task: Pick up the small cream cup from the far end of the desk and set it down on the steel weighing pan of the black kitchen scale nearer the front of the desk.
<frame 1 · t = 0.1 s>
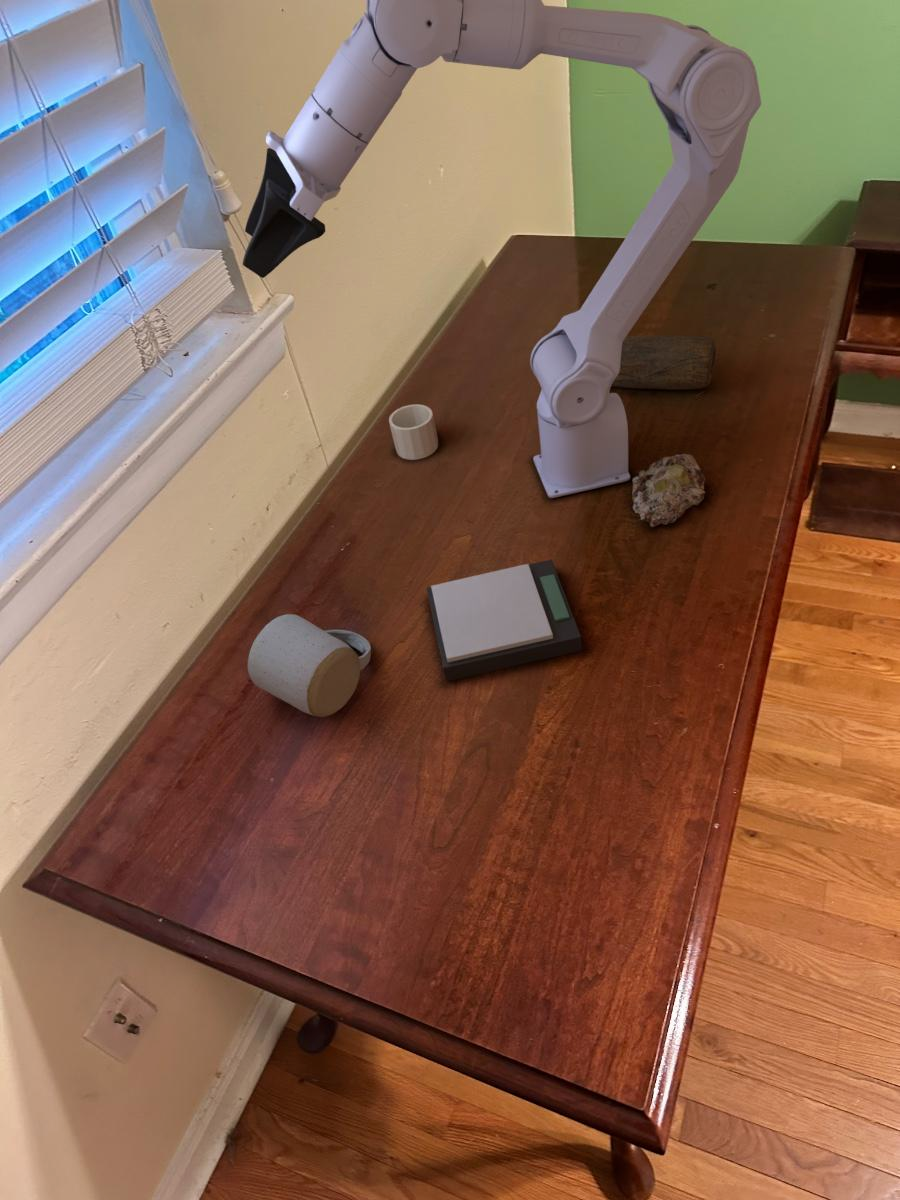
hand: (253, 253, 76), 32 cm above the table, tool tilted 50°, fingers open, 7 cm apart
wooden log: (651, 385, 109), on the table
mineral rock: (665, 499, 93), on the table
ceramic mug: (325, 682, 82), on the table
cream cup: (417, 447, 107), on the table
scale: (502, 624, 83), on the table
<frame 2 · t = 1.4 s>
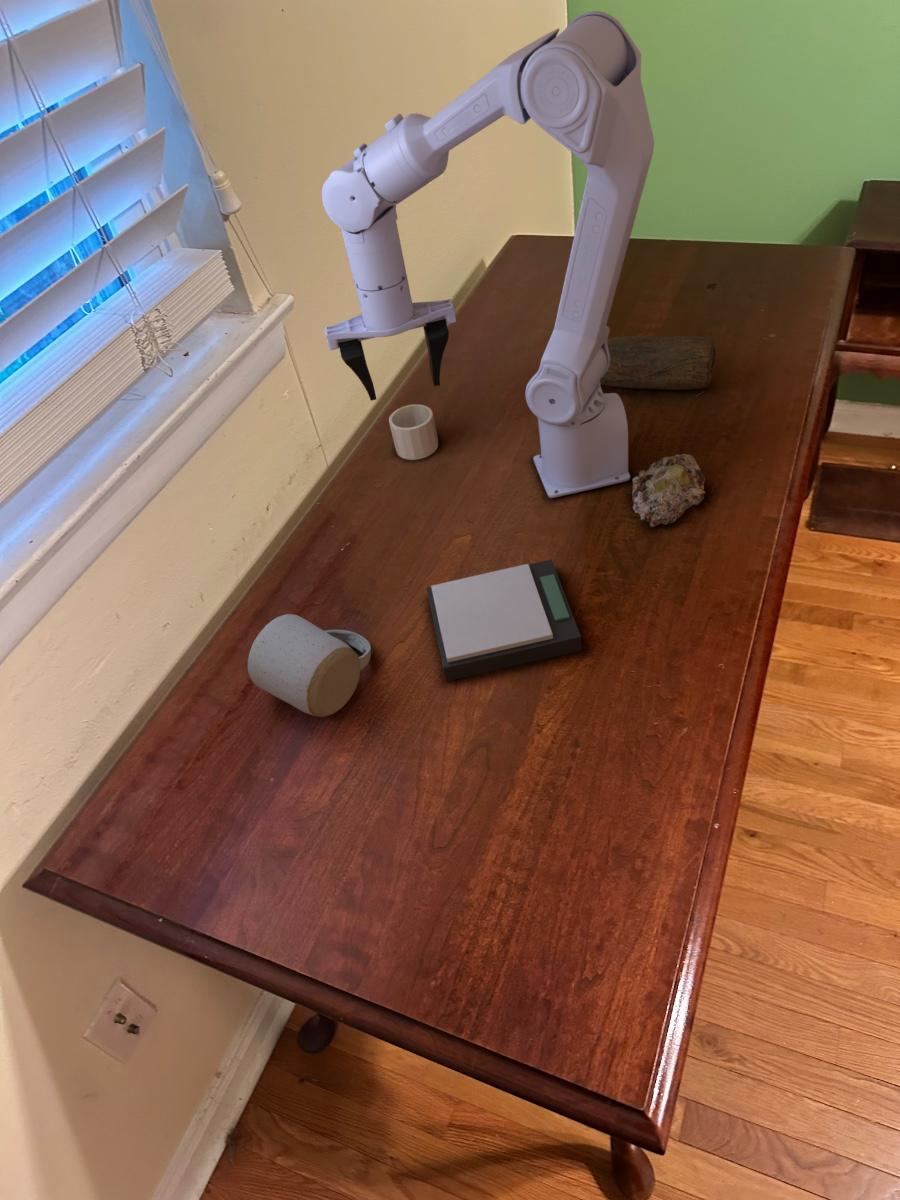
hand: (404, 388, 101), 8 cm above the table, tool pointing down, fingers open, 7 cm apart
nothing on the table moved.
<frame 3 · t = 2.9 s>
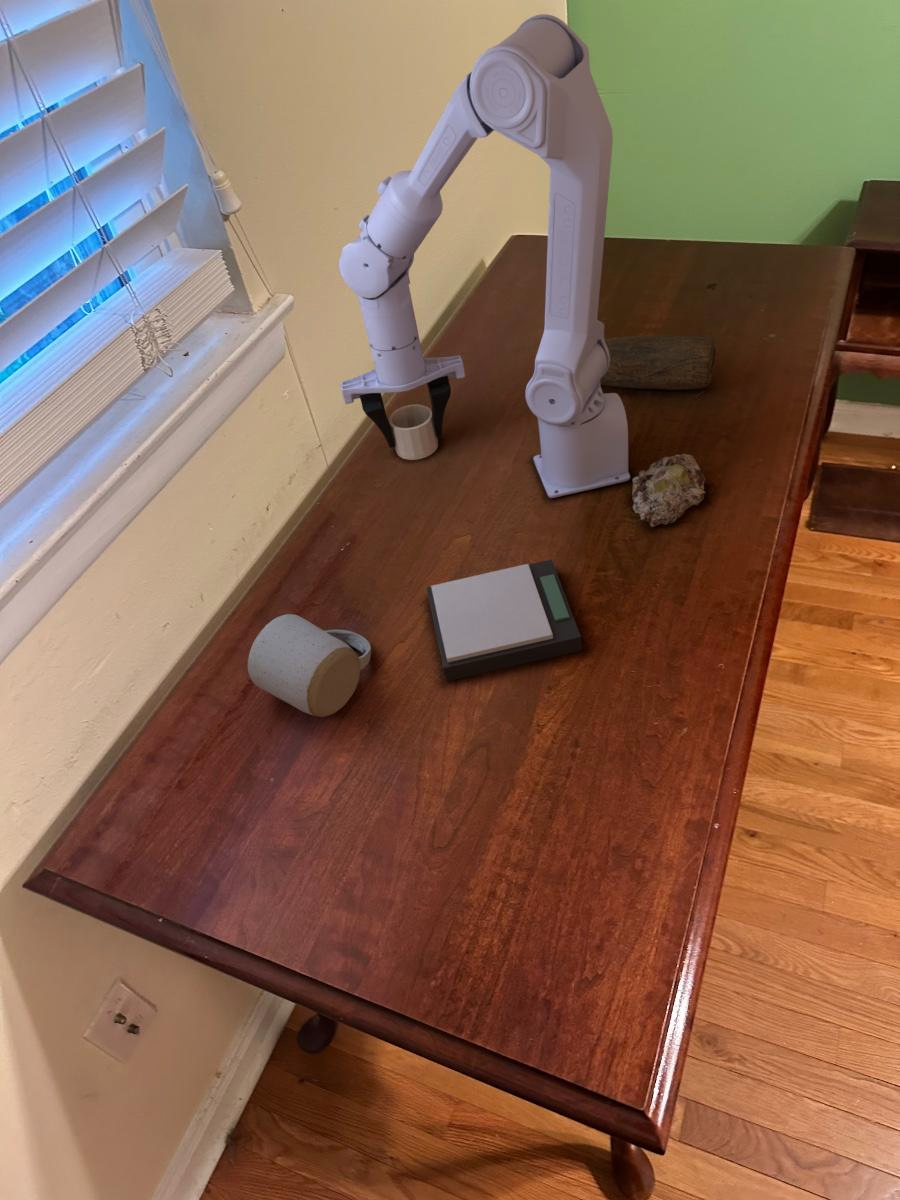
hand: (415, 437, 106), 1 cm above the table, tool pointing down, fingers closed on cream cup, 5 cm apart
cream cup: (417, 447, 107), on the table, touching gripper
everything else where it was.
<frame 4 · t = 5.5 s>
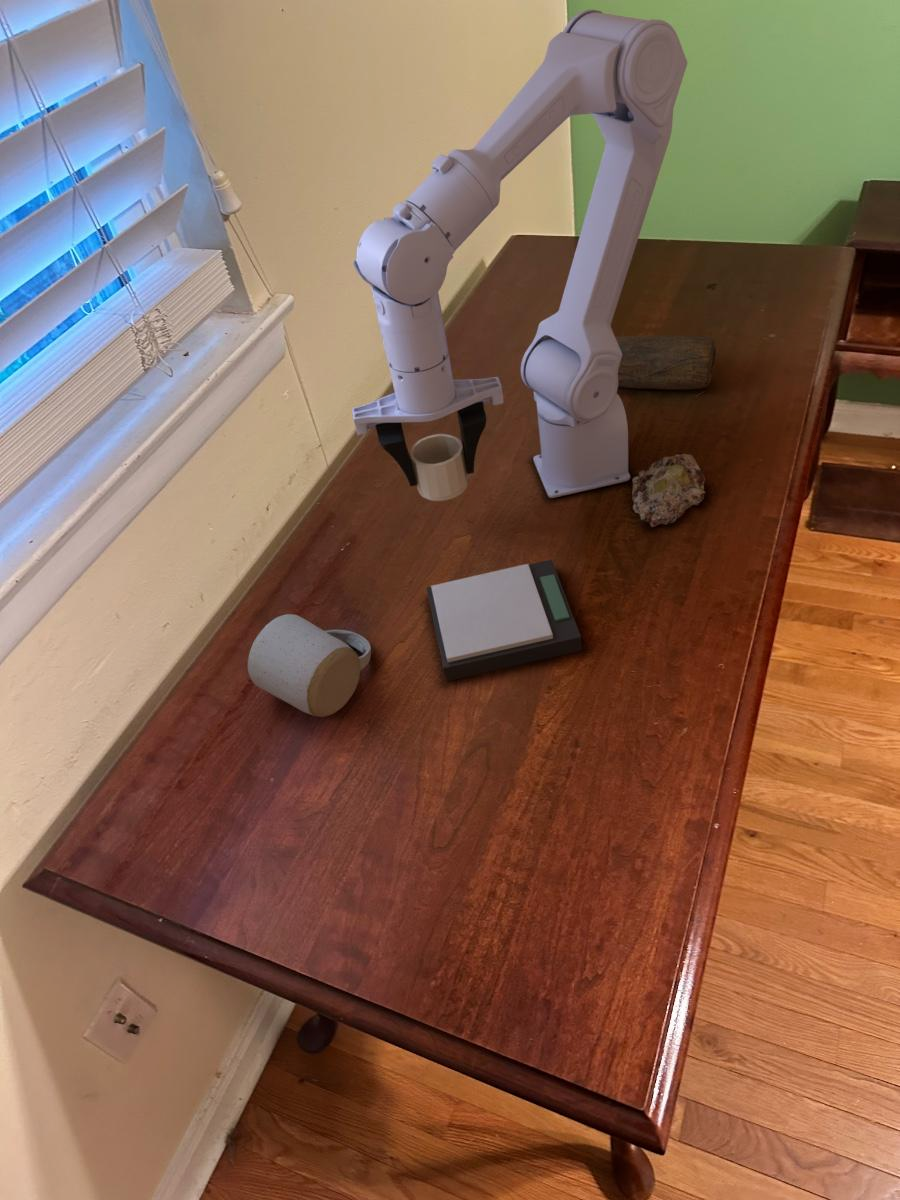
hand: (441, 474, 88), 8 cm above the table, tool pointing down, fingers closed on cream cup, 5 cm apart
cream cup: (443, 484, 89), point 7 cm above the table, touching gripper
everything else where it was.
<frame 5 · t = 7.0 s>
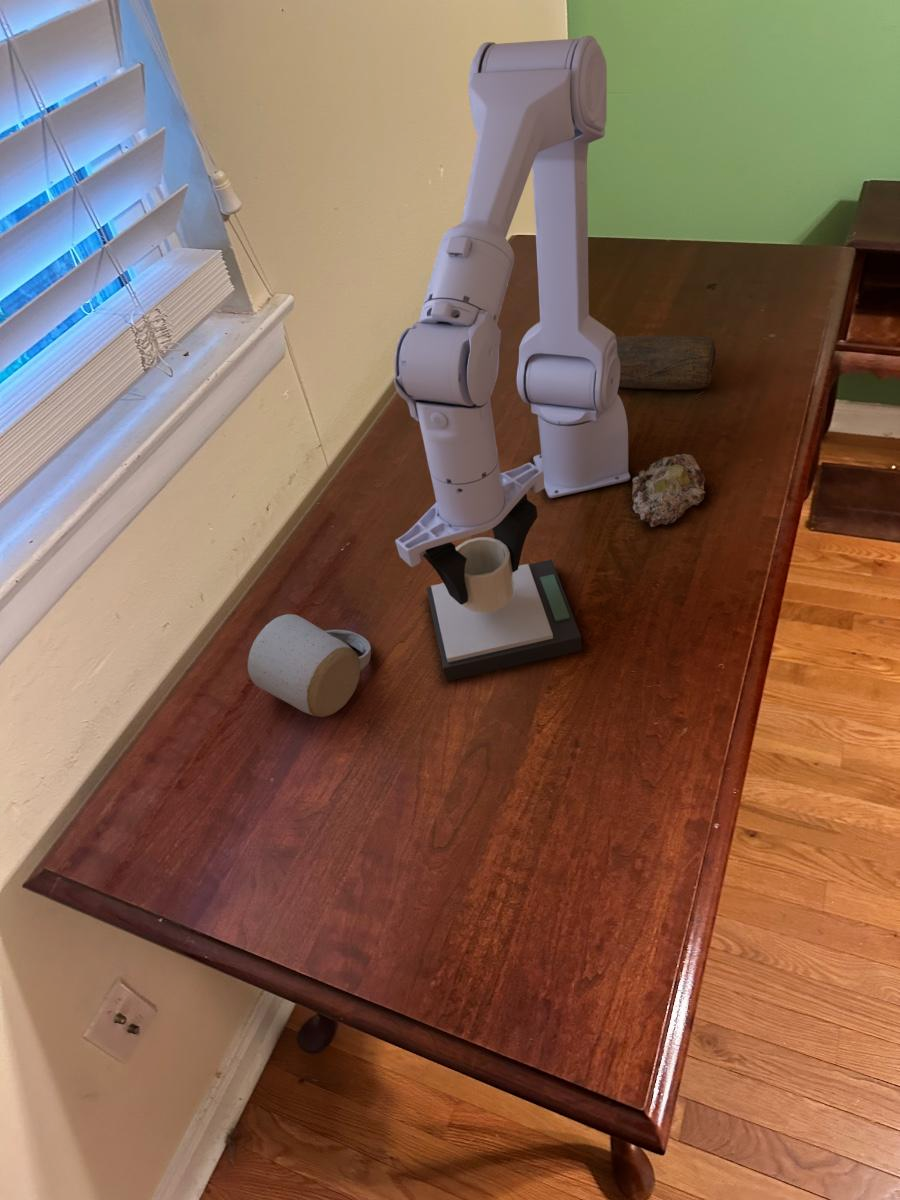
hand: (484, 581, 79), 6 cm above the table, tool pointing down, fingers closed on cream cup, 5 cm apart
cream cup: (485, 592, 80), point 5 cm above the table, touching gripper
everything else where it was.
when the fingers open (4 cm above the table, at t = 8.3 s): cream cup stays where it is, resting on scale.
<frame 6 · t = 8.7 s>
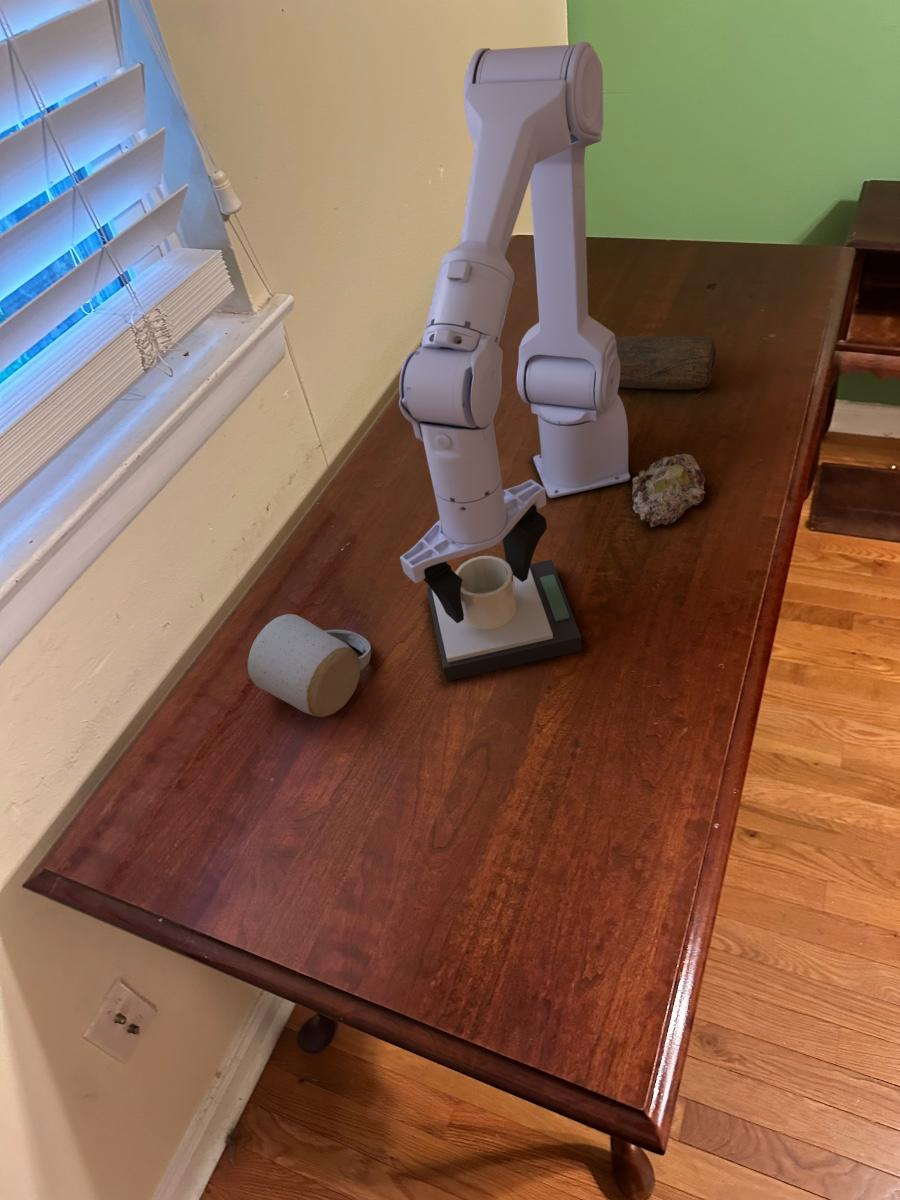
hand: (486, 595, 80), 4 cm above the table, tool pointing down, fingers open, 7 cm apart
cream cup: (488, 609, 82), point 3 cm above the table, touching scale
everything else where it was.
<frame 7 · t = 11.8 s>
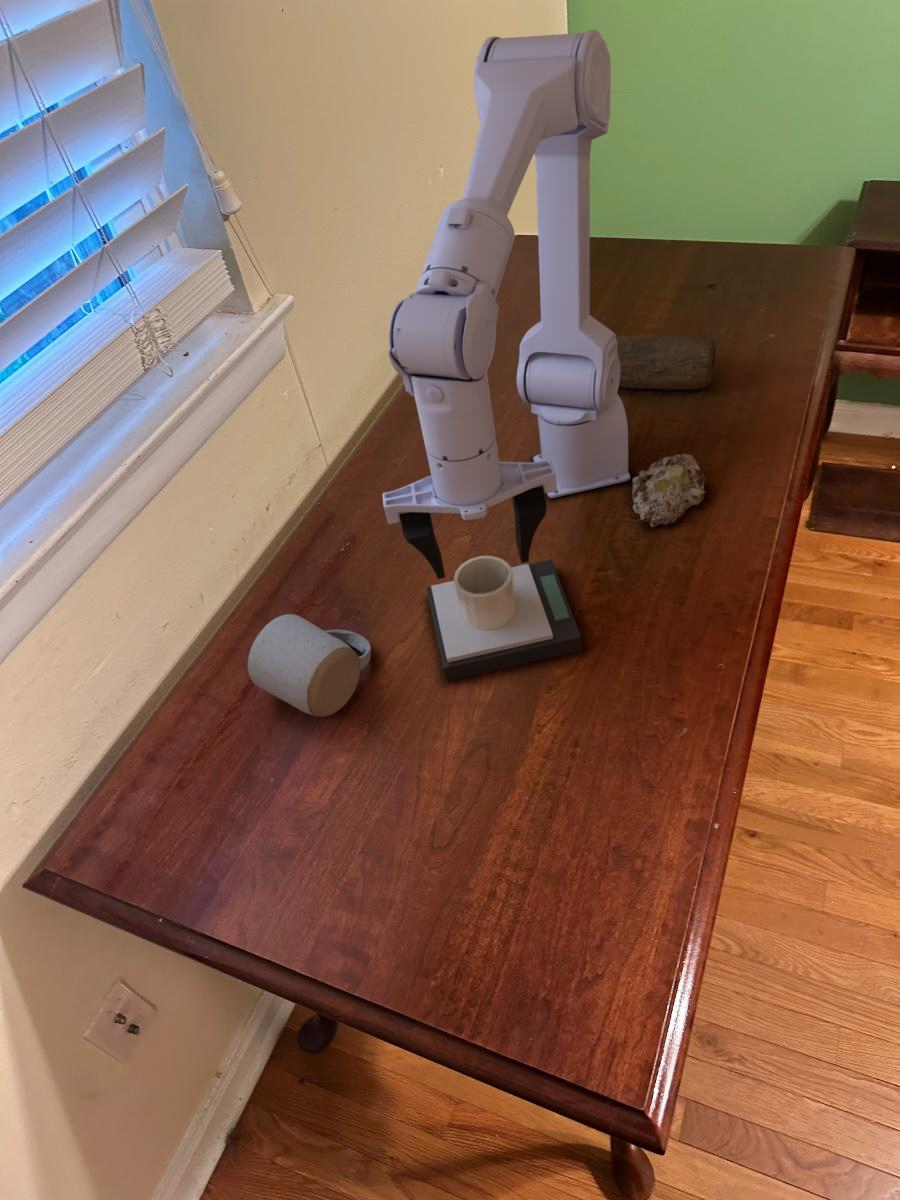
hand: (481, 563, 78), 8 cm above the table, tool pointing down, fingers open, 7 cm apart
nothing on the table moved.
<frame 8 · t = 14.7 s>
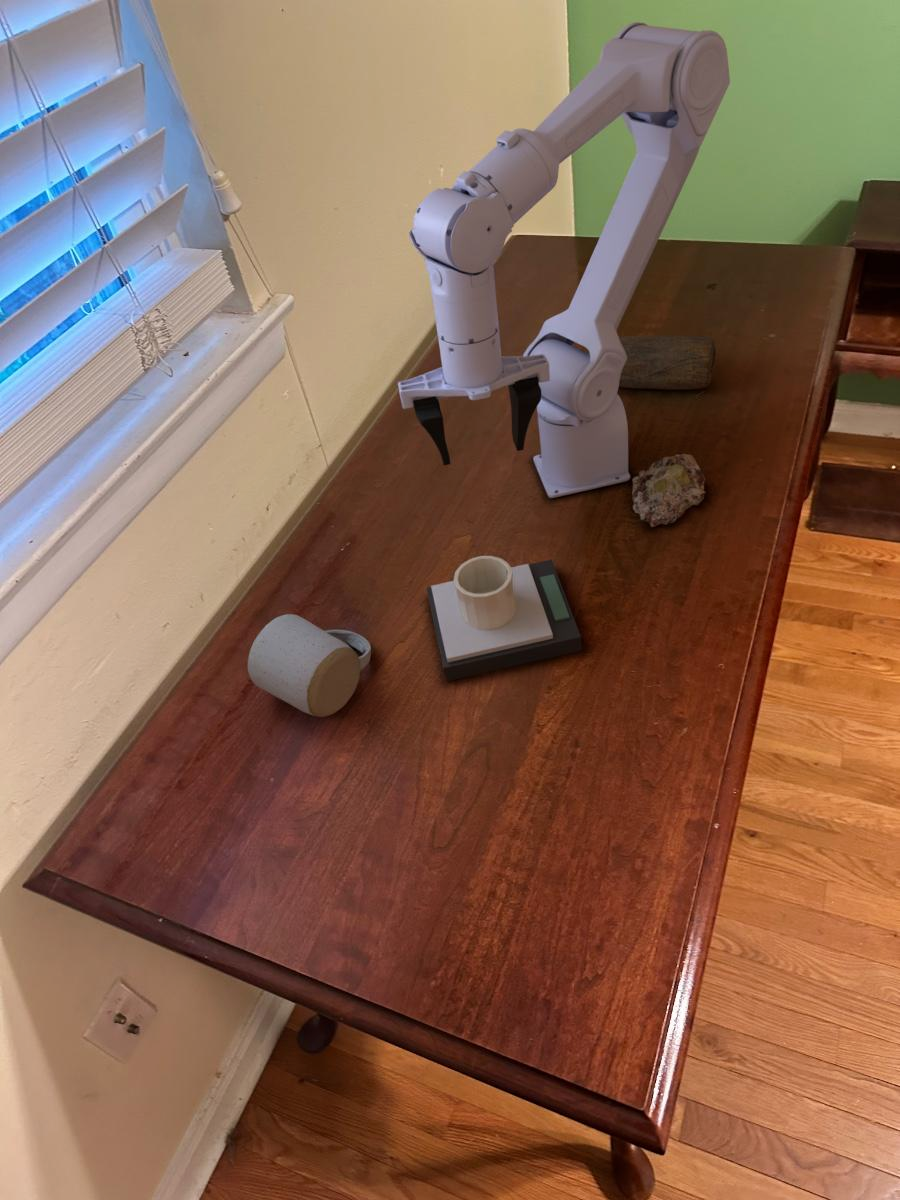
hand: (482, 452, 88), 9 cm above the table, tool pointing down, fingers open, 7 cm apart
nothing on the table moved.
at the end: cream cup inside the target area on the scale (0.1 cm from its centre), point 2.6 cm above the scale's base; cream cup tilted 0°; the gripper is holding nothing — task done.
